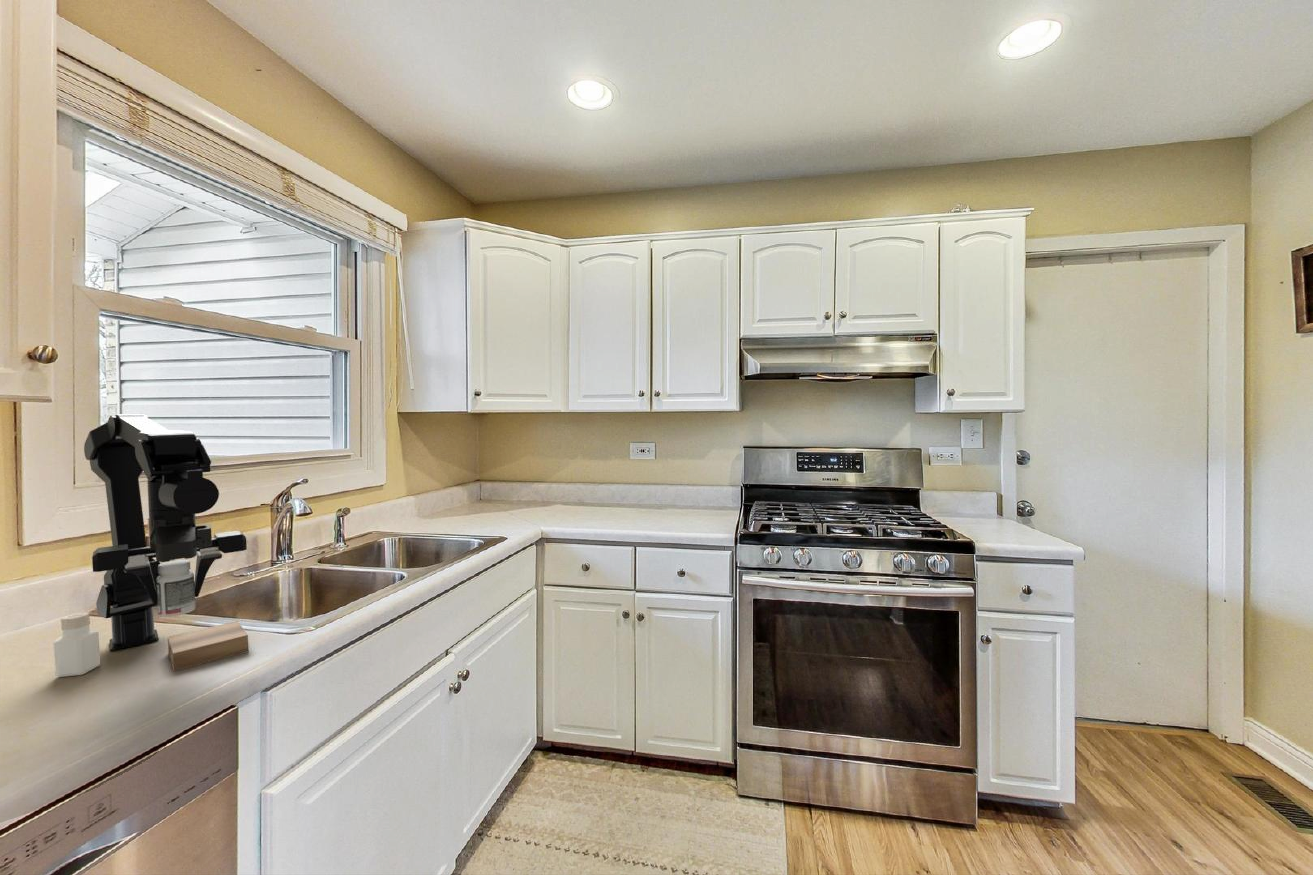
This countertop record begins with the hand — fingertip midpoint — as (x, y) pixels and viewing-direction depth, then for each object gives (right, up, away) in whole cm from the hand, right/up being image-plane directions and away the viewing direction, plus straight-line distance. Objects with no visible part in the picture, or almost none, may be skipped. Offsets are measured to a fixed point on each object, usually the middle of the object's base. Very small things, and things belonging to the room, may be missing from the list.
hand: (176, 600), depth 90 cm
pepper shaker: (-16, -12, 0) cm, 20 cm away
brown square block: (0, -11, +6) cm, 13 cm away
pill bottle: (0, -2, 0) cm, 2 cm away
